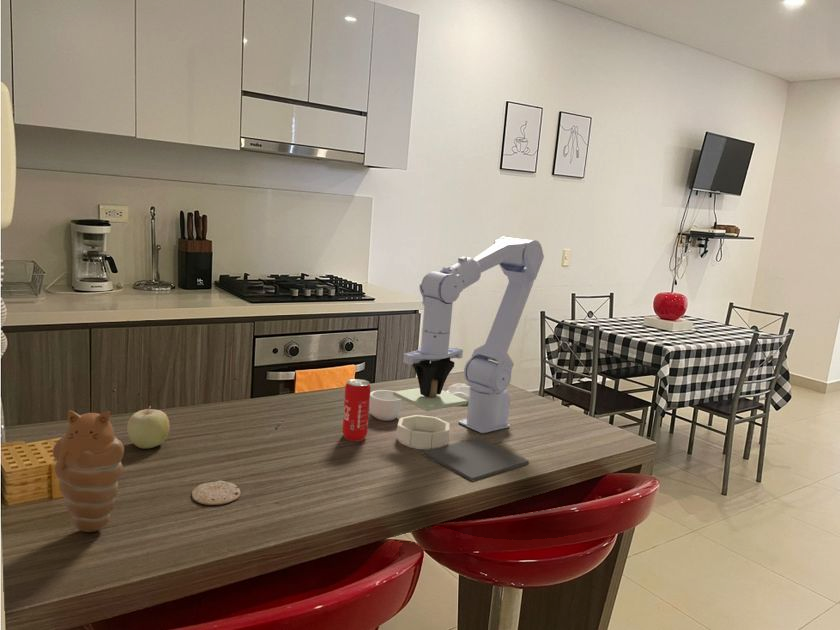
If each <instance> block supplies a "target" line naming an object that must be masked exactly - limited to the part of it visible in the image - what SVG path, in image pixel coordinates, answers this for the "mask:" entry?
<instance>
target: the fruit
mask: <svg viewBox="0 0 840 630" xmlns="http://www.w3.org/2000/svg"><path fill="white" fill-rule="evenodd" d="M170 427H171V426H170V420H169V417H168V415H167V414H166V413H165V412H164V411H162V410H160V409H154V408H153V409H152V406H151V405H149V407H148V408H145V409H141V410H138V411H137V412H134V413H133V414H132V415H131V417H129V419H128V421H127V427H126V430H127V434H128V437H129V439H130V441H131V442H132V443H133V444H134V445H135V446H136V447H137V448H140V449H144V450H145V449H152V448H155V447H158V446H159V445H162V443H164V441H166V439H167V437H168V435H169V432H170Z"/></svg>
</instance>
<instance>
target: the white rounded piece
mask: <svg viewBox="0 0 840 630" xmlns="http://www.w3.org/2000/svg"><path fill="white" fill-rule="evenodd" d="M445 391H446V392H448V393H451V394H453V395H455V396H458V397H460V398H462V399H465V400H467V404H468V403H469V393H470V386H468V385H467V384H466V383H461V382H460V383H459V382H458V383H452V385H449V386H448V387H447V390H445Z"/></svg>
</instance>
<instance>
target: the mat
mask: <svg viewBox="0 0 840 630" xmlns="http://www.w3.org/2000/svg"><path fill="white" fill-rule="evenodd" d="M422 455H424V456H426V458H429V459H431V460H433V461H434V462H435V463H438V464H440V465H441V466H443V467H445V468H447V469H449V470H450V471H452V472H454V473H456V474H458V475H460V476H462V477H464V478H465V479H467V480H469V481H471V482H473V480H474V481H477V480H480V479H483V478H487V477H490V476H492V475H495V474H499V473H503V472H506V471H509V470H513V469H515V468H518V467H522V466H525V465H528V464H529V462H530V460H528V459H526V458H524V457H523V456H519V455H518V454H516V453H513V452H511V451H509V450H507V449H504V448H502V447H500V446H498V445H496V444H494V443H492V442H490V441H488V440H485V439H483V438H482V437H476V438H471V439H468V440H463V441H459V442H455V443H452V444H447V445H446V446H443V447H439V448H435V449H431V450H422Z"/></svg>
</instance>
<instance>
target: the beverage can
mask: <svg viewBox="0 0 840 630" xmlns="http://www.w3.org/2000/svg"><path fill="white" fill-rule="evenodd" d="M344 388H345V389H344V403H343V404H344V405H343V420H342V434H343V437H344V439H345V440H347V441H351V442H360V441H364V440H365V439H366V437H367V434H368V429H369V428H368V427H369V426H368V425H369V415H370V413H369V412H370V404H369V403H370V393H371V384H370V381H368V380H367V379H359V378H355V379H354V378H353V379H352V378H351V379H348V380H347V381H346V385H345V387H344Z"/></svg>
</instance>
